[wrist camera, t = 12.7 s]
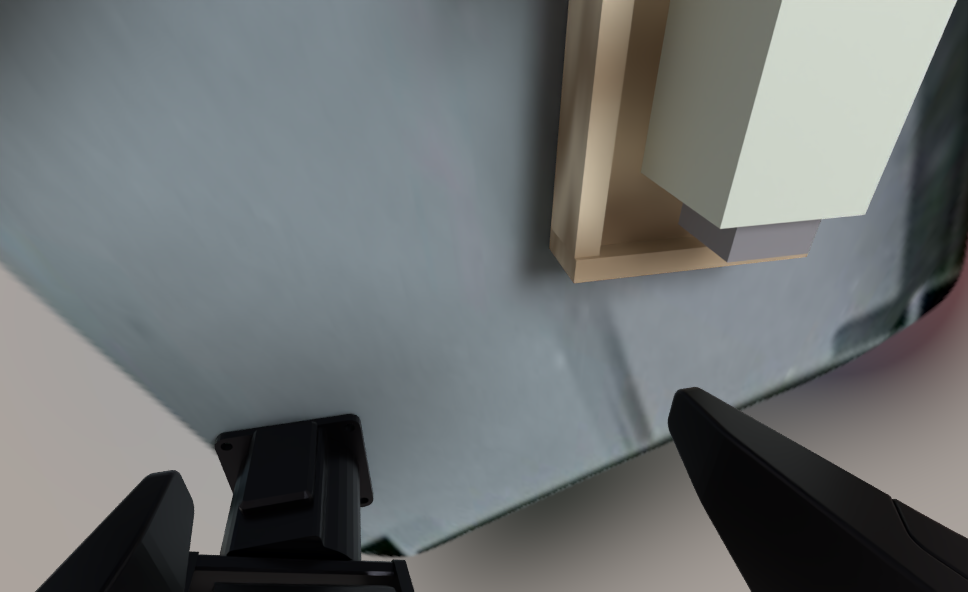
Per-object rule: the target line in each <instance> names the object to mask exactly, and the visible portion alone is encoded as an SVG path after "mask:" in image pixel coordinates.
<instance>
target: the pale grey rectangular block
mask: <svg viewBox="0 0 968 592" xmlns="http://www.w3.org/2000/svg"><path fill="white" fill-rule="evenodd" d="M956 1H957V0H670V5H669V11H668V16H667V22H666V28H665V34H664V40H663V46H662V51H661V57H660V63H659V69H658V75H657V81H656V86H655V92H654V98H653V104H652V110H651V116H650V122H649V127H648V133H647V139H646V145H645V151H644V157H643V162H642V168H641V173H642V174H644V175H645V176H646V177H648V178H649V179H651V180H652V181H653V182H655V183H656V184H658V185H659V186H660V187H662V188H663V189H665V190H666V191H667V192H669V193H670V194H672V195H673V196H675V197H676V198H677V199H679V200H680V201H682V202H683V204H682V208H681V213H680V217H679V222H678V224H679V225H680V226H681V227H683V228H684V229H685V230H686V231H688V232H689V233H690V234H691V235H693V236H694V237H695V238H697V239H698V240H699V241H700V242H702V243H703V244H704V245H705V246H707V247H708V248H709V249H711V250H712V251H713V252H714V253H716V254H717V255H718V256H719V257H721V258H722V259H723V260H725V261H726V262H727V263H728V262H737V261H746V260H755V259H764V258H773V257H782V256H791V255H800V254H809V251H810V248H811V246H812V243H813V240H814V238H815V235H816V233H817V230H818V227H819V225H820V222H821V220H822V219H826V218H837V217H847V216H857V215H865V213H866V211H867V208H868V206H869V204H870V201H871V199H872V197H873V194H874V192H875V190H876V187H877V185H878V183H879V180H880V178H881V176H882V173H883V171H884V169H885V166H886V164H887V162H888V159H889V157H890V155H891V152H892V150H893V148H894V145H895V143H896V141H897V138H898V136H899V134H900V131H901V129H902V127H903V124H904V122H905V120H906V117H907V115H908V113H909V110H910V108H911V106H912V103H913V101H914V99H915V96H916V94H917V92H918V90H919V87H920V85H921V83H922V80H923V78H924V76H925V73H926V71H927V69H928V66H929V64H930V62H931V59H932V57H933V55H934V52H935V50H936V48H937V45H938V43H939V41H940V38H941V36H942V34H943V31H944V29H945V27H946V24H947V22H948V20H949V17H950V15H951V13H952V10H953V8H954V6H955V3H956Z"/></svg>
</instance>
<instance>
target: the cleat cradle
mask: <svg viewBox="0 0 968 592" xmlns="http://www.w3.org/2000/svg"><path fill="white" fill-rule="evenodd" d="M669 5H670V0H569V5H568V18H567V30H566V43H565V56H564V68H563V81H562V94H561V106H560V119H559V132H558V144H557V157H556V170H555V182H554V195H553V208H552V220H551V233H550V246H549V249H550V250H551V252H552V253H553V254H554V256H555V257H556V259H557V260H558V262H559V263H560V264H561V266H562V267H563V269H564V270H565V271H566V273H567V274H568V276H569V277H570V279H571V280H572V281H573V283H581V282H590V281H599V280H608V279H616V278H625V277H634V276H643V275H652V274H660V273H669V272H678V271H687V270H696V269H704V268H713V267H722V266H731V265H740V264H749V263H757V262H766V261H775V260H784V259H793V258H801V257H807V255H808V254H800V255H791V256H782V257H773V258H764V259H755V260H746V261H737V262H728V263H727V262H726V261H725V260H723V259H722V258H721V257H719V256H718V255H717V254H716V253H714V252H713V251H712V250H711V249H709V248H708V247H707V246H705V245H704V244H703V243H702V242H700V241H699V240H698V239H697V238H695V237H694V236H693V235H691V234H690V233H689V232H688V231H686V230H685V229H684V228H683V227H681V226H680V225H679V224H678V222H679V217H680V213H681V208H682V204H683V202H682V201H680V200H679V199H677V198H676V197H675V196H673V195H672V194H670V193H669V192H667V191H666V190H665V189H663V188H662V187H660V186H659V185H658V184H656V183H655V182H653V181H652V180H651V179H649V178H648V177H646V176H645V175H644V174H642V173H641V168H642V162H643V157H644V151H645V145H646V139H647V133H648V127H649V122H650V116H651V110H652V104H653V98H654V92H655V86H656V81H657V75H658V69H659V63H660V57H661V51H662V46H663V40H664V34H665V28H666V22H667V16H668V11H669Z"/></svg>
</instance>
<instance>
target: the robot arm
mask: <svg viewBox="0 0 968 592" xmlns="http://www.w3.org/2000/svg"><path fill="white" fill-rule="evenodd" d="M347 424H353V425H347ZM668 428H669V431H670V434H671V436H672V438H673V441H674V443H675V445H676V447H677V450H678V452H679V454H680V456H681V459H682V461H683V463H684V466H685V468H686V470H687V472H688V475H689V477H690V479H691V482H692V484H693V486H694V488H695V490H696V493H697V495H698V497H699V499H700V501H701V503H702V505H703V507H704V509H705V510H706V512H707V514H708V516H709V518H710V519H711V521H712V523H713V525H714V526H715V528H716V530H717V532H718V534H719V535H720V537H721V539H722V541H723V542H724V544H725V546H726V548H727V550H728V551H729V553H730V555H731V557H732V558H733V560H734V562H735V563H736V566H737V567H738V569H739V571H740V573H741V574H742V576H743V578H744V580H745V581H746V583H747V585H748V587H749V589H750V590H751V592H968V538H966V537H964V536H962V535H960V534H958V533H956V532H954V531H952V530H951V529H949V528H947V527H945V526H943V525H942V524H940V523H938V522H936V521H934V520H932V519H930V518H929V517H927V516H925V515H923V514H921V513H920V512H918V511H916V510H914V509H913V508H911V507H909V506H907V505H906V504H904V503H902V502H900V501H898V500H897V499H892V498H891V497H890V496H889V495H888V494H886V493H884V492H882V491H880V490H879V489H877V488H875V487H874V486H872V485H870V484H868V483H866V482H865V481H863V480H861V479H859V478H858V477H856V476H854V475H852V474H851V473H849V472H847V471H845V470H844V469H842V468H840V467H838V466H837V465H835V464H833V463H831V462H829V461H828V460H826V459H824V458H822V457H821V456H819V455H817V454H815V453H814V452H811V451H810V450H808V449H807V448H805V447H803V446H801V445H799V444H798V443H796V442H794V441H792V440H791V439H789V438H787V437H785V436H784V435H782V434H780V433H778V432H776V431H775V430H773V429H771V428H769V427H768V426H766V425H764V424H762V423H761V422H759V421H757V420H755V419H754V418H752V417H750V416H748V415H746V414H745V413H743V412H741V411H740V410H738V409H736V408H734V407H732V406H731V405H729V404H727V403H725V402H724V401H722V400H720V399H718V398H717V397H715V396H713V395H711V394H710V393H708V392H706V391H704V390H703V389H700V388H698V387H691V388H685V389H679V390H677V392H676V393H675V395H674V398H673V402H672V406H671V409H670V413H669V417H668ZM226 443H230V444H226ZM215 450H216V452H217V455H218V457H219V460H220V462H221V465H222V467H223V470H224V472H225V475H226V477H227V480H228V482H229V485H230V487H231V490H232V492H233V498H232V502H231V506H230V511H229V515H228V520H227V524H226V529H225V534H224V538H223V542H222V547H221V551H220V555H199V552H189V550H190V542H191V534H192V526H193V519H194V504H193V500H192V498H191V496H190V493H189V491H188V489H187V487H186V485H185V483H184V481H183V479H182V477H181V475H180V473H179V472H177V471H176V470H170V471H163V472H157V473H152V474H150V475H148V476H147V477H145V478H144V479H143V480H142V481H141V482H140V483H139V484H138V485H137V486H136V487H135V488H134V489H133V490H132V491H131V492H130V494H129V495H128V496H127V497H126V498H125V499H124V500H123V501H122V502H121V503H120V504H119V505H118V506H117V507H116V508H115V509H114V510H113V511H112V512H111V513H110V514H109V515H108V516H107V517H106V519H105V520H104V521H103V522H102V523H101V524H100V525H99V526H98V527H97V528H96V529H95V530H94V531H93V532H92V533H91V534H90V535H89V536H88V537H87V538H86V539H85V540H84V541H83V543H81V545H80V546H79V547H78V548H77V549H76V550H75V551H74V552H73V553H72V554H71V555H70V556H69V557H68V558H67V559H66V560H65V561H64V562H63V563H62V564H61V565H60V566H59V567H58V568H57V569H56V571H55V572H54V573H53V574H52V575H51V576H50V577H49V578H48V579H47V580H46V581H45V582H44V583H43V584H42V585H41V586H40V587H39V588H38V589H37V590H36V591H35V592H414V589H413V585H412V582H411V578H410V575H409V571H408V568H407V564H406V561H405V560H392V561H391V562H385V561H361V524H360V507H365V506H368V505H370V504H371V503H372V502H373V489H372V484H371V478H370V472H369V467H368V461H367V455H366V449H365V444H364V438H363V432H362V427H361V421H360V418H359V417H358V416H357V415H354V414H346V415H340V416H333V417H326V418H320V419H313V420H306V421H299V422H293V423H286V424H279V425H273V426H266V427H259V428H253V429H246V430H239V431H233V432H226V433H222V434H220V435H219V436H218V437H217V439H216V443H215Z"/></svg>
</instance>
